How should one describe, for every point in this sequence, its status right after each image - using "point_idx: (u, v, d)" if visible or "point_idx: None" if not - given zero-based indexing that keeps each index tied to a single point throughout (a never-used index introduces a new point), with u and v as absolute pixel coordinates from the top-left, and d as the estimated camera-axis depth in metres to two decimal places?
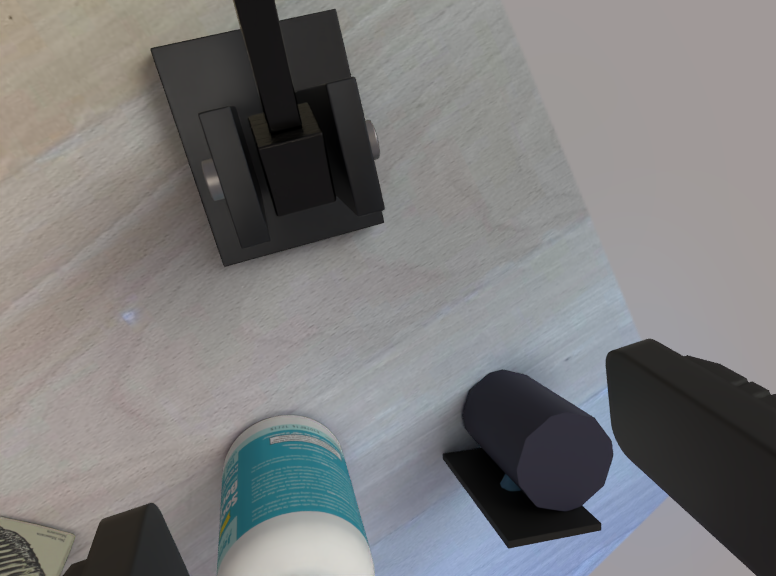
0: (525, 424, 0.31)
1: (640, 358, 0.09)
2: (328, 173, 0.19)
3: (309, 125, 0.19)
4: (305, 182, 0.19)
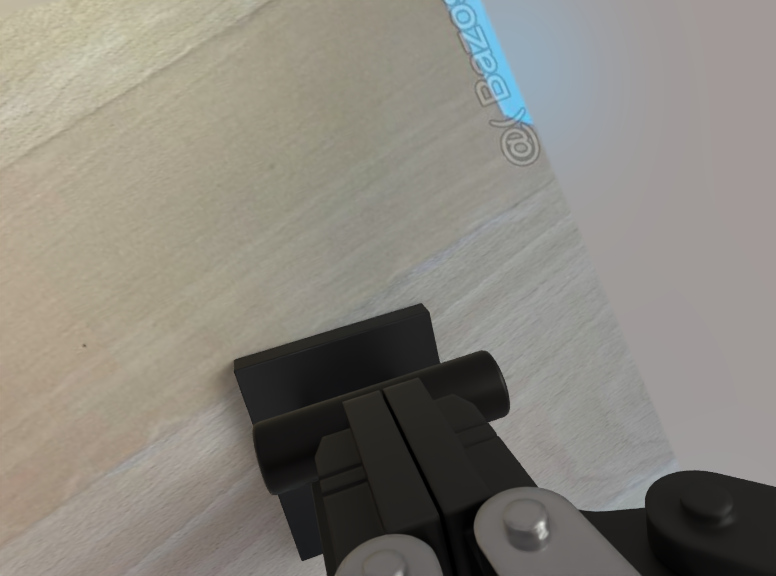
0: None
1: (396, 398, 0.10)
2: None
3: None
4: None
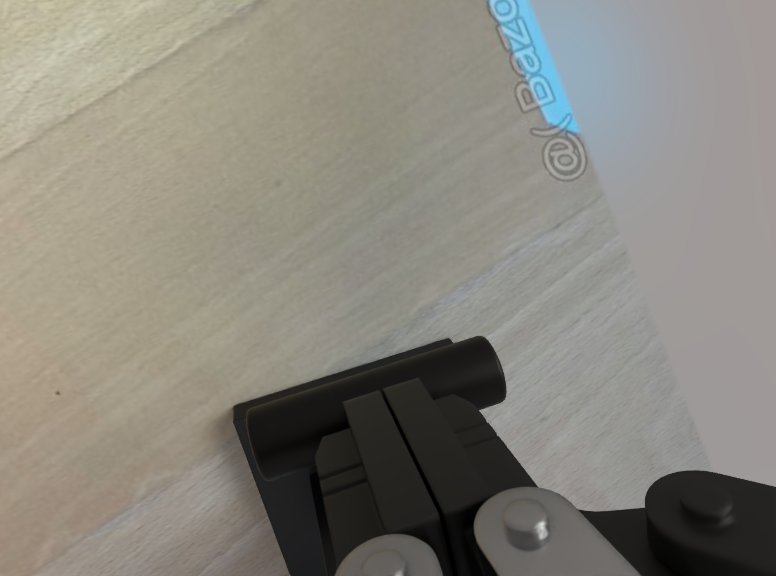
0: None
1: (396, 398, 0.10)
2: None
3: None
4: None
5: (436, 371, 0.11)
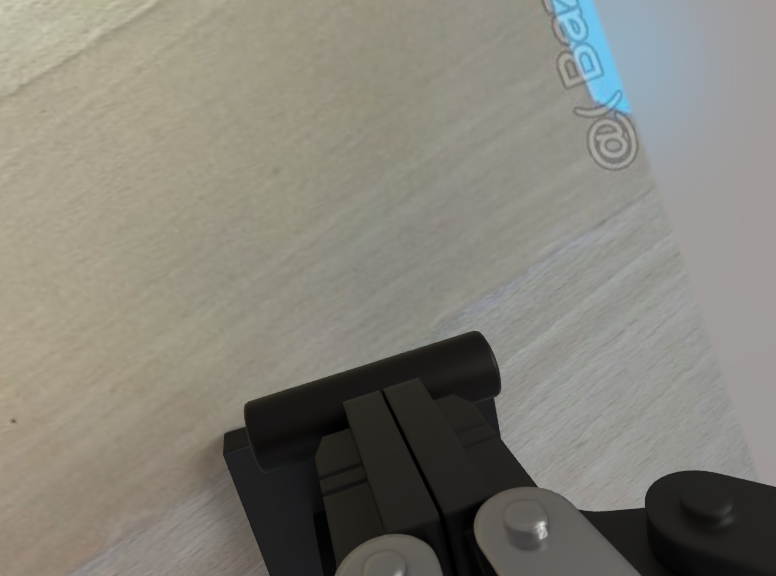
0: None
1: (396, 398, 0.10)
2: None
3: None
4: None
5: (426, 356, 0.11)
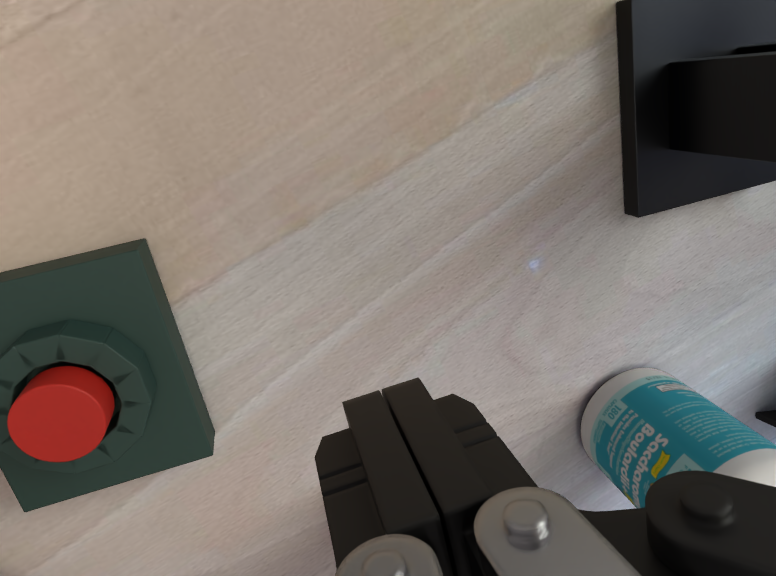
0: None
1: (396, 398, 0.10)
2: None
3: None
4: None
5: None
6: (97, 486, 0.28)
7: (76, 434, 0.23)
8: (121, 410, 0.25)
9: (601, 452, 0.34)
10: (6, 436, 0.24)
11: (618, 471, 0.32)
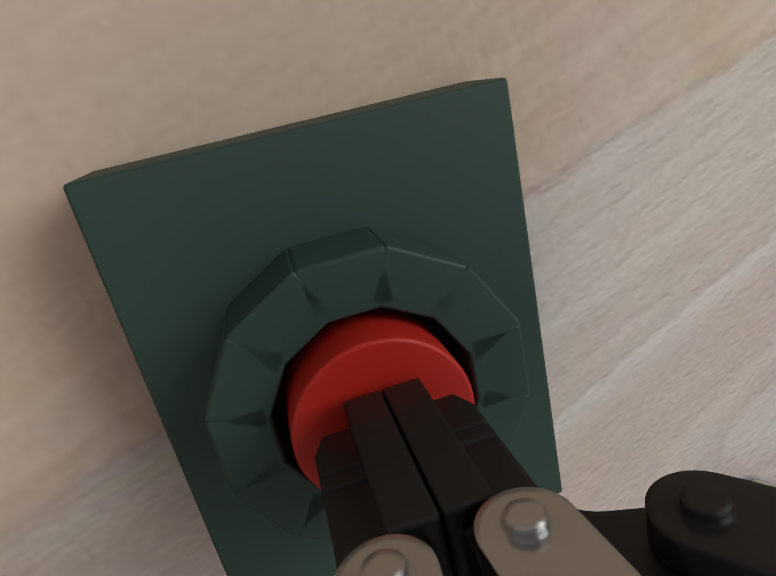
0: None
1: (396, 398, 0.10)
2: None
3: None
4: None
5: None
6: None
7: None
8: None
9: None
10: (256, 473, 0.11)
11: None
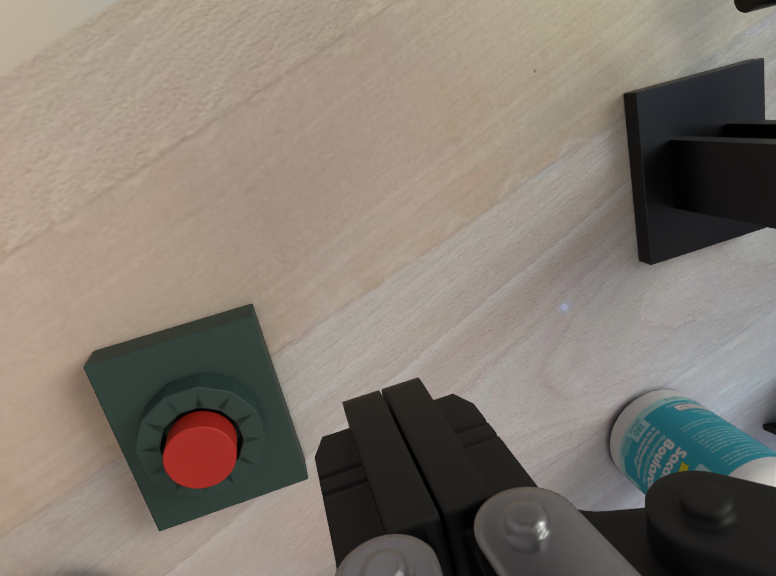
0: None
1: (396, 398, 0.10)
2: None
3: None
4: None
5: None
6: (216, 507, 0.34)
7: (214, 465, 0.29)
8: (243, 444, 0.31)
9: (629, 465, 0.39)
10: (155, 469, 0.30)
11: (645, 480, 0.38)
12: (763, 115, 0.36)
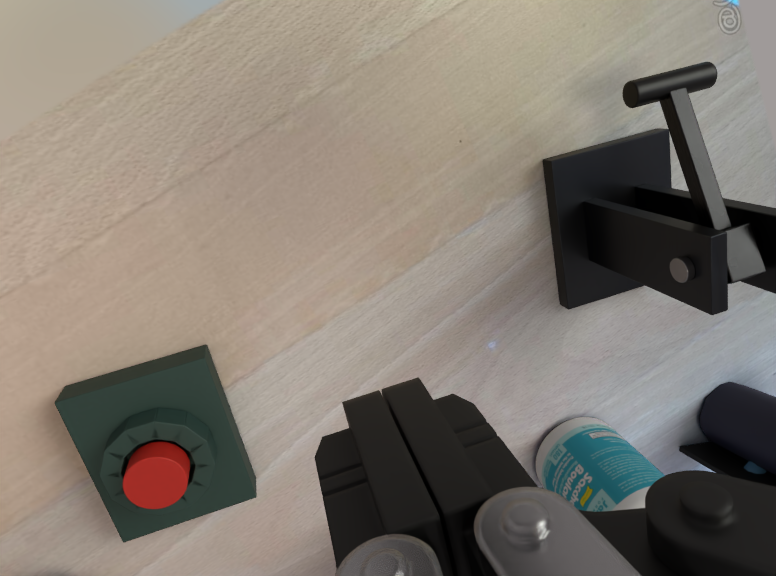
0: None
1: (396, 398, 0.10)
2: (758, 249, 0.30)
3: None
4: (745, 256, 0.30)
5: (690, 66, 0.32)
6: (174, 522, 0.38)
7: (167, 489, 0.34)
8: (195, 470, 0.35)
9: (549, 485, 0.44)
10: (117, 491, 0.35)
11: None
12: (669, 178, 0.40)
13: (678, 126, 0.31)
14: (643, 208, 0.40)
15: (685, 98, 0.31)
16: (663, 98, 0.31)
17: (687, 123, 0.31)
